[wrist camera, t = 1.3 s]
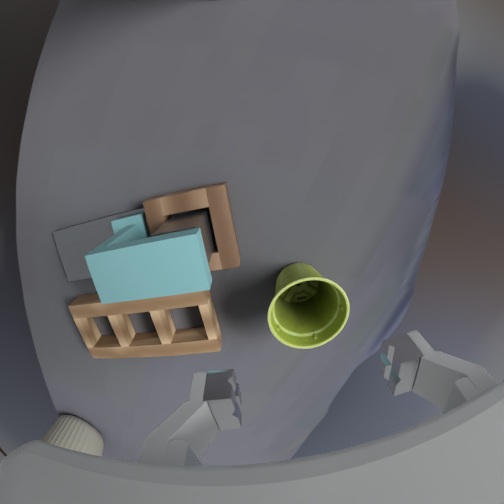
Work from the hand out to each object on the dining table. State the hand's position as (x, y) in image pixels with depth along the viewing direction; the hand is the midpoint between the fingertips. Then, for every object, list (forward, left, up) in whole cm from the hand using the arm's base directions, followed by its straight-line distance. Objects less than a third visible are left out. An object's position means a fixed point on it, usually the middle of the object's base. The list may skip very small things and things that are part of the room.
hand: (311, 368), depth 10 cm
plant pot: (+10, +3, -27) cm, 29 cm away
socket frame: (0, -18, -27) cm, 32 cm away
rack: (+12, -20, -27) cm, 36 cm away
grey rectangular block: (0, -9, -27) cm, 29 cm away
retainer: (0, -13, -26) cm, 29 cm away
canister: (+44, -53, -27) cm, 74 cm away
